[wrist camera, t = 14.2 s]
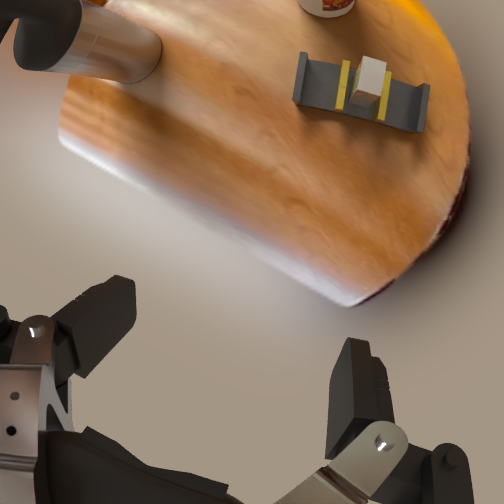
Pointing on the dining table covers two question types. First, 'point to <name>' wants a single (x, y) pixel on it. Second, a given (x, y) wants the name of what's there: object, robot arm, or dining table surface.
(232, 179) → the dining table surface
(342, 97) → the rack
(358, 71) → the white block
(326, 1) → the milk bottle
